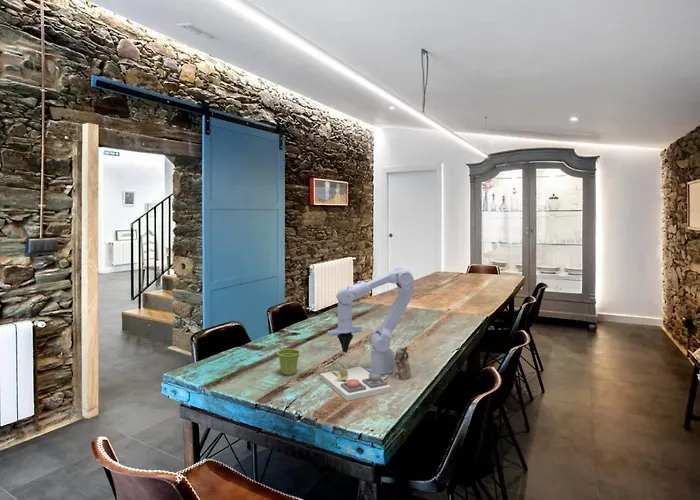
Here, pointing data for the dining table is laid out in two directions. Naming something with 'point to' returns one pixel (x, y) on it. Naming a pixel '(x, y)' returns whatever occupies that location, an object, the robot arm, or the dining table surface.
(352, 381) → the red button
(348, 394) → the control board
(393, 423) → the dining table surface
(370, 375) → the grey button
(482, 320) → the dining table surface
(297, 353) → the plant pot
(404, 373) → the figurine
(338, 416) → the dining table surface
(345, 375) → the brass slider
